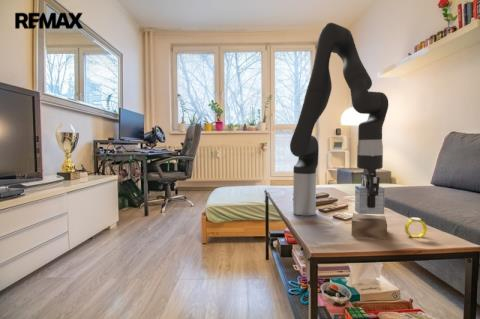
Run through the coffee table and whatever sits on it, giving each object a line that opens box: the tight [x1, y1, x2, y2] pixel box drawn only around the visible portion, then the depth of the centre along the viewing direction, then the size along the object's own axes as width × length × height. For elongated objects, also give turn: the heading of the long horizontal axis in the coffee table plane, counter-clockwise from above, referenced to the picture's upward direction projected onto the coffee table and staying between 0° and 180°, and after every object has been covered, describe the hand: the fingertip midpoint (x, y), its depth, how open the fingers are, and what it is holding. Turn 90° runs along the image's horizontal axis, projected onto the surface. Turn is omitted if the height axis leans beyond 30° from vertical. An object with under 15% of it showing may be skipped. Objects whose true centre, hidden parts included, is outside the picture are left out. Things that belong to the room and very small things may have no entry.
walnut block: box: [351, 212, 388, 240], centre depth 89 cm, size 10×10×5 cm
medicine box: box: [354, 185, 386, 215], centre depth 89 cm, size 8×4×9 cm, turn 84°
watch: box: [404, 217, 428, 238], centre depth 85 cm, size 6×3×6 cm, turn 88°
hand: (369, 205), depth 89 cm, fingers closed on medicine box, 4 cm apart
